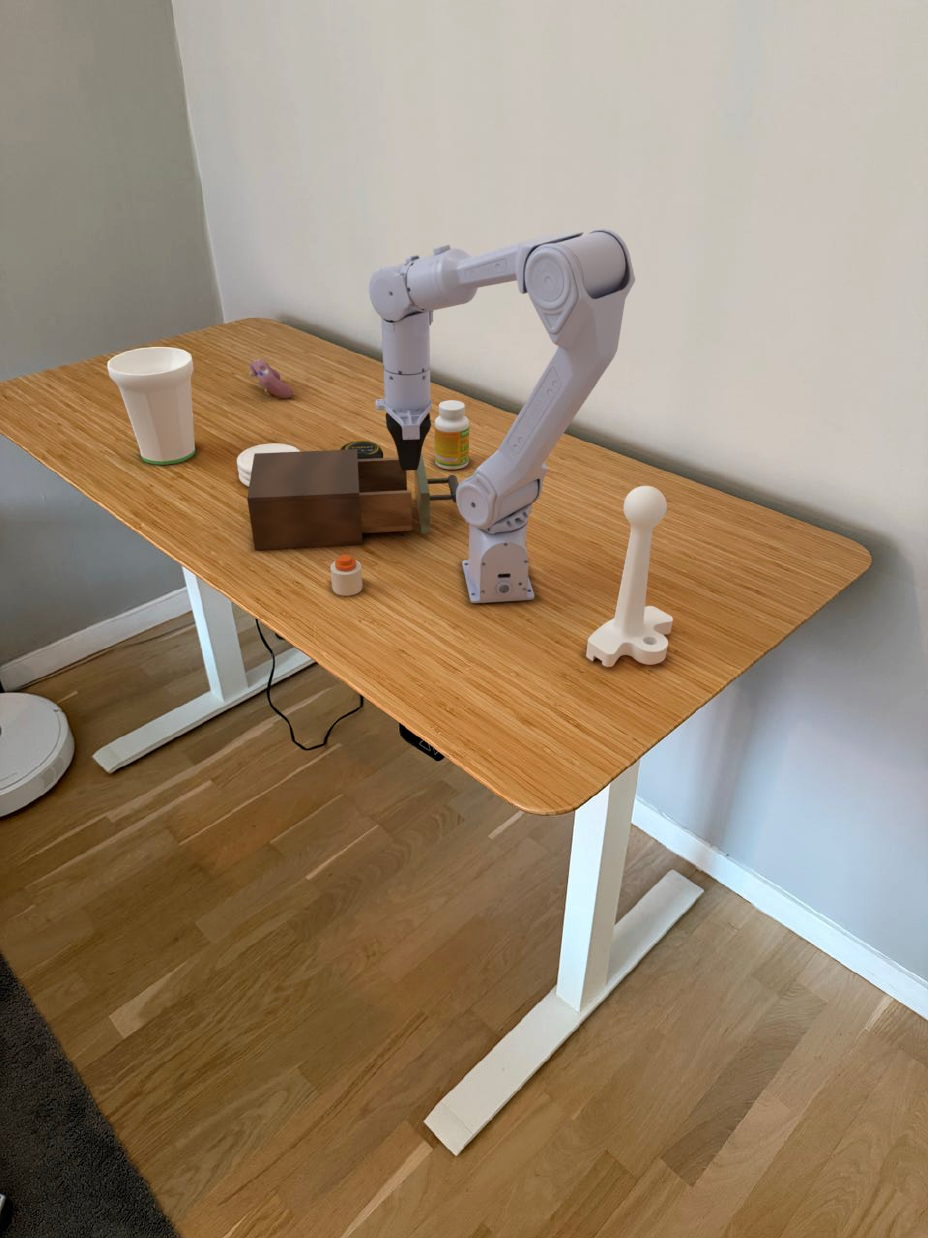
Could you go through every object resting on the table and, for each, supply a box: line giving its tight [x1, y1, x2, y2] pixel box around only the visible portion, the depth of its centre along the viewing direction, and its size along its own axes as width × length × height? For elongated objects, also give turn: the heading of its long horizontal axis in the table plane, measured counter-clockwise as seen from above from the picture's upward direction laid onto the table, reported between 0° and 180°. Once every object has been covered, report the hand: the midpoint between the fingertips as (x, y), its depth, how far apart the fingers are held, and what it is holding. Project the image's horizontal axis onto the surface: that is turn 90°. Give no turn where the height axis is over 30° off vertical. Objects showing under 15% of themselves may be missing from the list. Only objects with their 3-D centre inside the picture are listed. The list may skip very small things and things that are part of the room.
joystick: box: [585, 485, 674, 668], centre depth 97 cm, size 11×8×20 cm
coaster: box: [236, 442, 301, 488], centre depth 136 cm, size 10×10×4 cm
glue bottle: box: [329, 554, 364, 597], centre depth 111 cm, size 4×4×4 cm
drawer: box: [357, 453, 460, 534], centre depth 124 cm, size 18×12×6 cm
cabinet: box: [246, 449, 363, 551], centre depth 123 cm, size 14×13×8 cm
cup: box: [106, 346, 196, 466], centre depth 139 cm, size 12×12×15 cm
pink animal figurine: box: [248, 358, 294, 399], centre depth 163 cm, size 10×5×7 cm, turn 25°
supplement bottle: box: [434, 399, 470, 470], centre depth 139 cm, size 5×5×10 cm
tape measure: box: [339, 440, 384, 459], centre depth 138 cm, size 7×7×4 cm
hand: (409, 468), depth 117 cm, fingers closed
